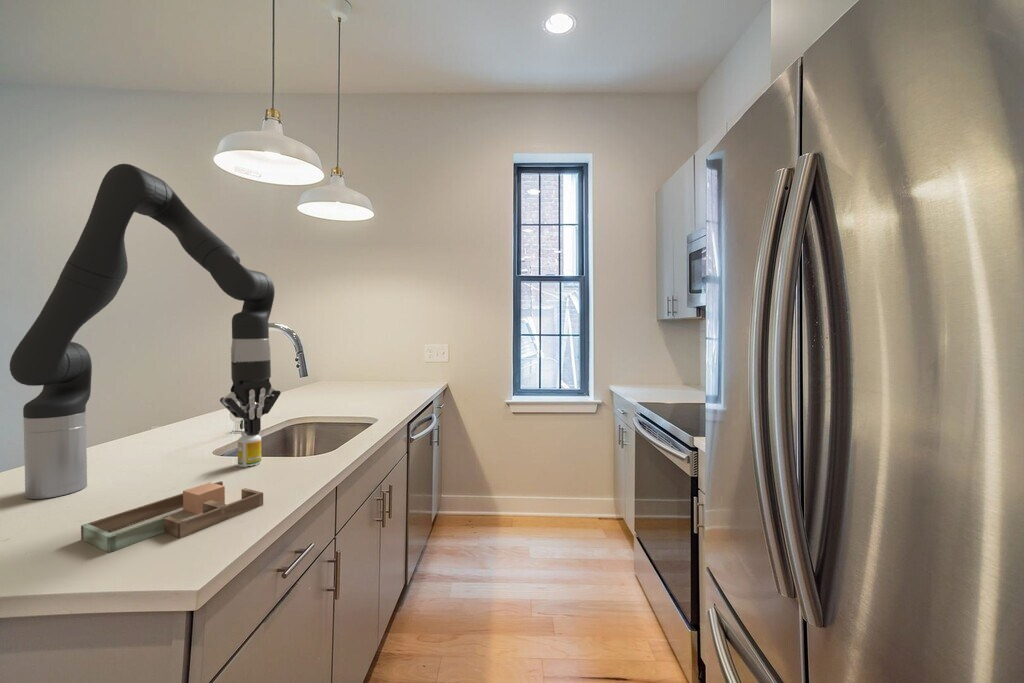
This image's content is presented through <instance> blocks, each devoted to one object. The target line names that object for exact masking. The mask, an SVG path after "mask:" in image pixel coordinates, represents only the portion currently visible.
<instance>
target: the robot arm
mask: <svg viewBox="0 0 1024 683" xmlns="http://www.w3.org/2000/svg"><path fill="white" fill-rule="evenodd" d="M135 213H137V214H139V215H143V216H146V217H150V218H151V219H153V220H155V221H156V222H158V223H159V224H161V225H163V226H164V227H165V228H167V229H168V230H169V231H170V232H172V233H173V235H174V236H175V237H176V238H177V240H178V243H179V244H180V245H181V247H182V248H183V250H184V251H185V252H186V253H187V254H188V255H189V256H190V257H191V258H192V259H193V260H194V261H195V262H196V263H197V264H199V265H200V266H201V267H202V268H203V269H205V270H206V272H208V273H209V274H210V275H211V277H212V278H213V280H214V281H215V283H216V285H217V286H219V289H221V291H223V293H224V294H226V295H227V296H229V297H230V298H232V299H234V300H237V301H243V303H242V307H241V311H240V312H236V313H234V314H233V316H232V318H231V347H230V367H231V368H230V369H231V370H230V371H231V372H230V373H231V382H232V385H231V387H230V393H228V394H227V395H226V396H225V397H223V396H222V397H220V399H219V402H220V403H221V404H222V405H223V406H224V408H226V409H227V411H229V412H230V413H231V415H232V416H234V418H236V419H237V418H238V419H243V421H244V423H243V425H244V428H243V429H244V431H245V433H246V434H247V435H248V436H254V435H259V433H260V432H261V429H262V428H261V427H262V426H261V423H262V422H261V420H262V419H261V418H262V417H263V416H264V415H267V414H269V413H270V412H271V410H272V408H273V407H274V405H275V404H276V402H277V400H278V399H279V397H280V395H281V393H282V392H281V391H280V390H276V389H275V388H273V387H272V383H271V382H270V379H271V377H272V374H271V372H272V369H271V367H272V366H271V363H272V362H271V345H270V338H269V337H270V333H269V332H270V331H269V329H270V328H269V319H270V316H271V312H272V308H273V305H274V300H275V292H276V291H275V285H274V282H273V280H272V278H271V277H270V276H269V275H268V274H266V273H265V272H261V271H257V270H252V269H249V268H246V267H245V266H244V265H242V264H241V259H240V256H239V254H238V253H237V252H236V251H235V250H234V249H233V248H231V247H230V246H229V244H227V243H226V242H224V241H223V240H222V238H220V237H219V236H217V234H216V233H215V232H213V231H212V230H211V229H210V228H209V227H208V226H206V225H205V224H204V223H203V222H201V220H199V219H198V217H196V216H195V214H194V213H193V212H192V211H191V210H190V209H189V208H188V207H187V206H186V204H185V203H184V202H183V201H182V199H181V197H179V196H178V194H177V193H176V192H175V191H174V189H172V187H171V186H170V185H169V184H168V183H167V182H165V180H163V179H162V178H160V177H158V176H155V175H154V174H152V173H149V172H147V171H145V170H144V169H141V168H140V167H137V166H136V165H132V164H129V163H119V164H116V165H114V166H112V167H111V168H110V169H109V170H108V171H107V172H106V173H105V174H104V177H103V178H102V181H101V183H100V185H99V187H98V191H97V194H96V196H95V198H94V203H93V205H92V207H91V209H90V214H89V216H88V219H87V221H86V224H85V226H84V228H83V229H82V232H81V234H80V237H79V239H78V241H77V242H76V245H75V247H74V249H73V250H72V252H71V254H70V255H69V257H68V259H67V261H66V262H65V265H64V267H63V268H62V271H61V272H60V273H59V274H60V275H59V276H58V279H57V282H56V284H55V286H54V288H53V289H52V290H51V293H50V295H49V297H48V298H47V300H46V302H45V304H44V306H43V307H42V309H41V311H40V313H39V315H38V316H37V318H36V319H35V321H34V322H33V323H32V324H31V326H30V328H29V329H28V330H27V332H26V333H25V335H24V336H23V338H22V339H21V340H20V342H19V343H18V345H17V346H16V347H15V349H14V351H13V353H12V355H11V358H10V359H9V360H10V361H9V372H10V375H11V376H12V379H14V380H15V381H16V382H17V383H19V384H20V385H25V386H29V387H32V386H33V387H35V386H36V387H37V386H38V387H39V386H42V390H41V392H40V393H39V394H38V395H37V396H36V397H34V398H33V399H31V400H30V401H28V402H26V403H25V404H24V405H23V409H22V410H23V411H22V415H23V416H22V417H23V418H22V420H23V447H24V448H23V451H24V454H23V456H24V490H25V491H24V493H25V494H24V497H25V498H26V499H29V500H41V499H49V498H54V497H61V496H64V495H69V494H72V493H75V492H78V491H80V490H83V489H85V488H87V486H88V457H87V456H88V454H87V451H88V450H87V414H86V413H87V403H88V402H89V400H90V397H91V393H92V392H91V390H92V372H93V367H92V366H93V364H92V358H91V355H90V352H89V351H88V349H87V348H86V347H85V346H84V345H82V344H79V343H77V342H73V341H72V340H73V339H74V337H75V336H76V334H77V332H78V331H79V330H80V329H81V327H83V326H84V324H86V323H87V322H89V321H90V320H91V319H92V318H93V317H95V316H96V315H97V314H98V313H100V312H101V311H102V310H104V309H105V308H106V307H107V306H108V305H109V304H110V303H111V302H112V301H113V300H114V298H116V296H117V294H118V292H119V290H120V289H121V286H122V284H123V282H124V280H125V279H126V276H127V273H128V269H129V268H128V266H129V265H128V257H127V251H126V244H125V234H126V231H127V227H128V225H129V223H130V221H131V219H132V218H133V215H134V214H135ZM237 402H238V403H239V404H238V403H237Z"/></svg>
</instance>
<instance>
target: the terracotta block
mask: <svg viewBox="0 0 1024 683" xmlns="http://www.w3.org/2000/svg"><path fill="white" fill-rule="evenodd" d="M214 483H215V482H206V483H203V484H200V485H196V486H193V487H191V488H187V489H185V490H183V491H182V493H183V507H182V510H184V511H187V512H190V513H193V514H195V515H201V514H203V503H204V502H207V501H210V500H212V501H216V502H219V503H223V504H226V503H225V502H226V495H225V494H226V493H225V492H226V491H225V490H226V489H225V487H226V486H225V485H223V486H222V485H218V484H214Z"/></svg>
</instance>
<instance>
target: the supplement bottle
mask: <svg viewBox="0 0 1024 683" xmlns="http://www.w3.org/2000/svg"><path fill="white" fill-rule="evenodd" d="M259 463H260V464H261V463H262V437H261V435H259V434H258V435H254V436H248V435H247V434H246V433H245V431H244V428H241V429H240V437H239V438H238V439H237V465H238V467H240V468H248V467H247V466H251V467H253V466H252V465H256V464H258V465H260V464H259ZM256 466H257V465H256Z"/></svg>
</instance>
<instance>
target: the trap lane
mask: <svg viewBox="0 0 1024 683" xmlns="http://www.w3.org/2000/svg"><path fill="white" fill-rule="evenodd" d="M213 483H214V484H218V485H222V486H224V481H221V480H220V481H217V482H213ZM240 493H241V498H240V499H239V500H236V501H233V502H231V503H228V504H226V503H225V504H223V503H219V502H216V501H212V500H210V501H207V502H204V503H203V513H201V514H197V515H195V516H193V517H191V518H188V519H185V520H181V519H178V518H174V517H172V516H170V515H165V516H162V517H159V518H156V519H153V520H151V521H147V522H144V523H141V524H138V525H135V526H133V527H130V528H127V529H125V530H122V531H119V532H116V533H111V532H112V531H111V530H113V531H115V530H114V529H116V530H118V529H117V528H119V529H121V528H120V527H122V528H124V527H123V526H125V527H127V526H126V525H128V526H130V525H129V524H131V525H133V524H132V523H134V524H136V523H135V522H137V523H139V522H138V521H140V522H142V521H141V520H143V521H145V520H148V519H151V518H154V517H156V516H157V517H158V516H161V515H162V514H165V513H168V512H170V511H171V512H172V511H174V510H177V509H180V508H183V492H182V493H179V494H177V495H173V496H170V497H167V498H164V499H160V500H156V501H154V502H151V503H150V502H149V503H147V504H144V505H141V506H138V507H136V508H135V507H134V508H133V509H128V510H125V511H123V512H119V513H116V514H113V515H110V516H107V517H104V518H100V519H97V520H95V521H91V522H87V523H85V524H82V525H80V540H81V539H82V540H81V541H83V540H84V541H83V542H85V541H86V542H85V543H87V542H88V543H87V544H90V545H92V546H95V547H96V548H99V549H101V550H103V551H105V552H108V553H113V552H115V551H118V550H120V549H123V548H126V547H128V546H131V545H134V544H137V543H139V542H142V541H144V540H147V539H149V538H153V537H154V536H157V535H160V534H162V533H166V534H168V535H171V536H174V537H177V538H180V539H181V538H184V537H186V536H188V535H191V534H194V533H197V532H199V531H202V530H204V529H207V528H209V527H211V526H214V525H217V524H219V523H221V522H224V521H226V520H228V519H232V518H234V517H236V516H238V515H239V516H240V515H241V514H243V513H246V512H249V511H251V510H254V509H256V508H258V506H259V507H260V506H264V492H262V491H259V490H254V489H251V488H242V489H241V492H240ZM150 517H151V518H150ZM147 518H148V519H147ZM144 519H145V520H144ZM108 531H110V532H108Z"/></svg>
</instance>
